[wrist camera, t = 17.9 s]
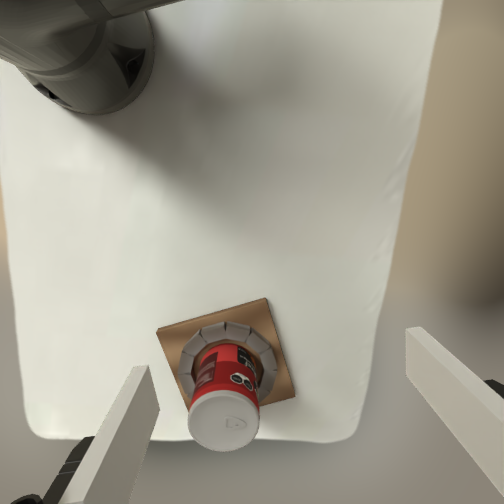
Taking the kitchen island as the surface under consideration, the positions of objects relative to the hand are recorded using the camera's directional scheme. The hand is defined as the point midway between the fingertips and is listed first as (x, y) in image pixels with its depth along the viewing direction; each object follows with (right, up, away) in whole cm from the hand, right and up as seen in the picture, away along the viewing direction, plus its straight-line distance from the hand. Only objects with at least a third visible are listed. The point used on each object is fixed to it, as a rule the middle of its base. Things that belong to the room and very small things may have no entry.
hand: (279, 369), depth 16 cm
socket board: (-5, -10, +30) cm, 32 cm away
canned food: (-5, -10, +29) cm, 31 cm away
